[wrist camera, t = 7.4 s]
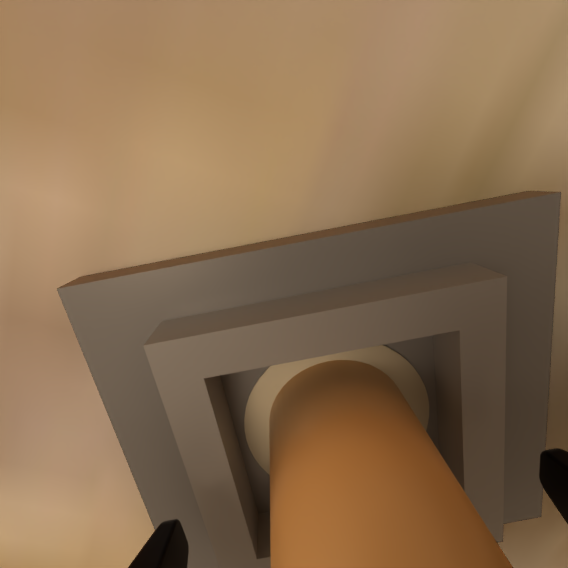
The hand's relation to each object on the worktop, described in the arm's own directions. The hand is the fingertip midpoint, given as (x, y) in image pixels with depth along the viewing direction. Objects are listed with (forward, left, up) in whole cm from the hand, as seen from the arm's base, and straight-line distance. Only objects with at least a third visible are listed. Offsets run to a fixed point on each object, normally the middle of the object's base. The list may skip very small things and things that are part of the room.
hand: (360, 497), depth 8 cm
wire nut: (0, 0, -3) cm, 3 cm away
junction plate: (0, 0, -4) cm, 4 cm away
